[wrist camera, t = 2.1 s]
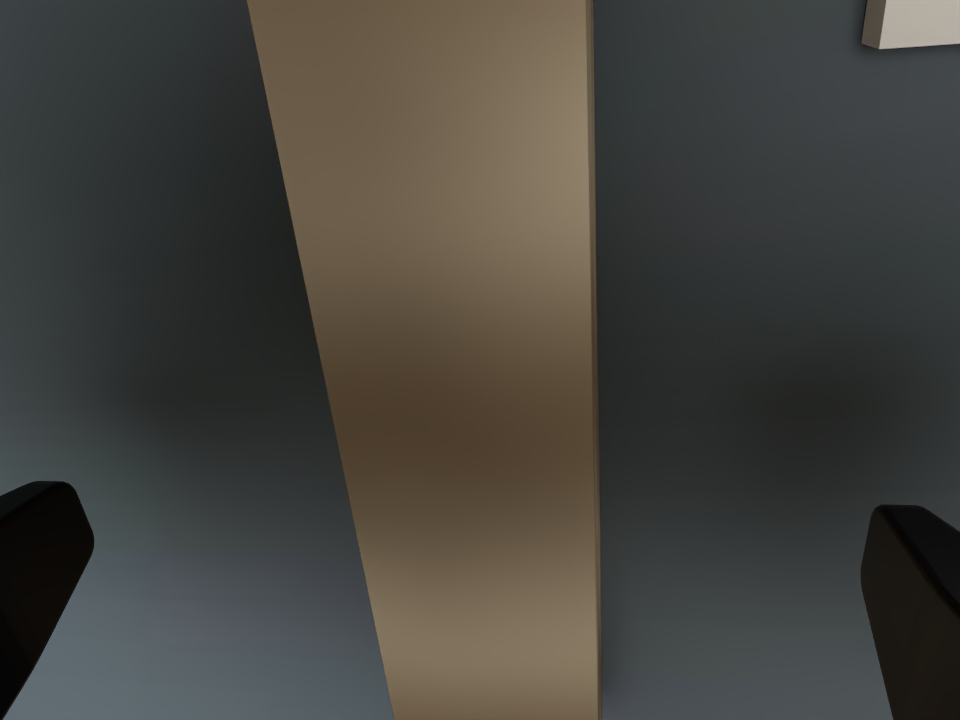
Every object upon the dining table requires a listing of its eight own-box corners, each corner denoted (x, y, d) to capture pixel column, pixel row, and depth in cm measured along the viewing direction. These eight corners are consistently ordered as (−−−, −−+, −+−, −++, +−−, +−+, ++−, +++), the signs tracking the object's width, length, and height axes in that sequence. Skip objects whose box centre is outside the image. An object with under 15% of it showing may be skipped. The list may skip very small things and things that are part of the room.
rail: (602, 692, 18) (599, 920, 13) (457, 682, 18) (412, 896, 14) (585, -498, 9) (564, -948, 4) (297, -442, 9) (33, -782, 5)
